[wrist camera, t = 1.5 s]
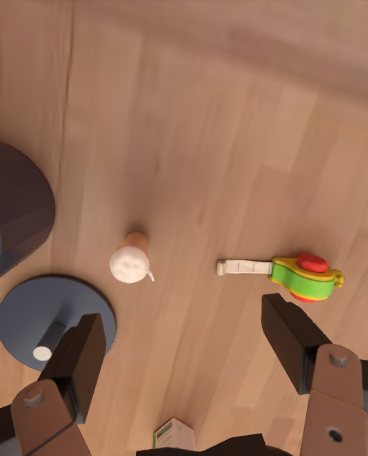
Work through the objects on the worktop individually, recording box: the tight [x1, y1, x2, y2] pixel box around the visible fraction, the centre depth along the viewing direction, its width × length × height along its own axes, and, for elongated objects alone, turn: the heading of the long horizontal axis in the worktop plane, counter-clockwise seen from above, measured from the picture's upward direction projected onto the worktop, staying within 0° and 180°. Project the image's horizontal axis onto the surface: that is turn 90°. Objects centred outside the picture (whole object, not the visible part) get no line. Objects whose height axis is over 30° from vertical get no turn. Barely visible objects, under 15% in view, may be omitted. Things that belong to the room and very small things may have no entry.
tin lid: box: [0, 276, 116, 371], centre depth 36 cm, size 18×18×6 cm
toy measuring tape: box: [216, 254, 344, 303], centre depth 36 cm, size 6×19×7 cm, turn 85°
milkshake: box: [110, 231, 155, 283], centre depth 32 cm, size 4×5×10 cm
